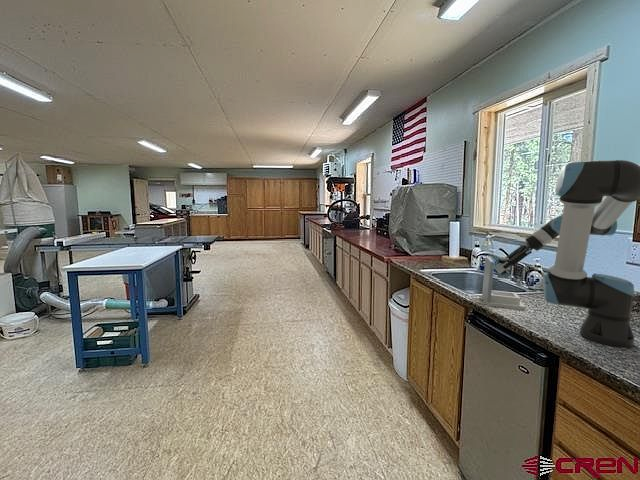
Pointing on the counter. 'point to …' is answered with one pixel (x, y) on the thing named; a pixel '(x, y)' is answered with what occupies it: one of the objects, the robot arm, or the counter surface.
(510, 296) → the holder
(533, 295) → the counter surface
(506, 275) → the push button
